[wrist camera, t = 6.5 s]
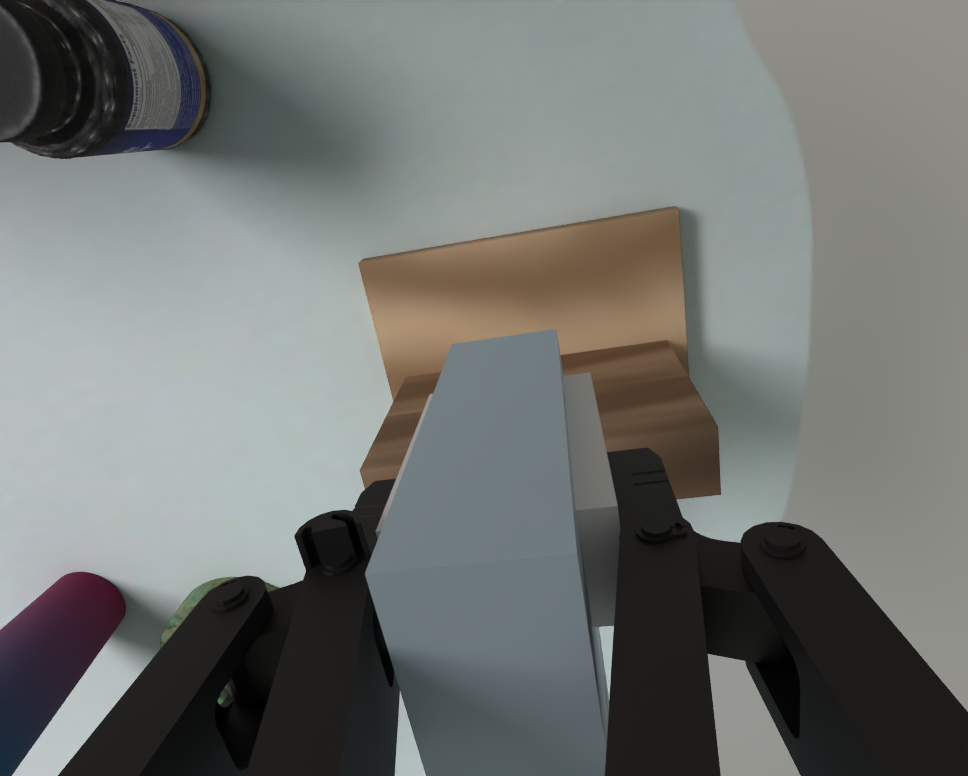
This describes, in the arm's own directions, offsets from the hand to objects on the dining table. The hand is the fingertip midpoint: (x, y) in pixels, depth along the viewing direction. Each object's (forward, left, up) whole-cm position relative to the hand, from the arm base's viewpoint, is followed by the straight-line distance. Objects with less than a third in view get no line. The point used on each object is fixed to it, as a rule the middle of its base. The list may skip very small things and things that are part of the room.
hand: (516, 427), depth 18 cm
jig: (+5, 0, -17) cm, 18 cm away
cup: (+17, -33, -17) cm, 41 cm away
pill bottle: (-13, -16, -17) cm, 27 cm away
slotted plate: (+6, 0, -1) cm, 6 cm away
